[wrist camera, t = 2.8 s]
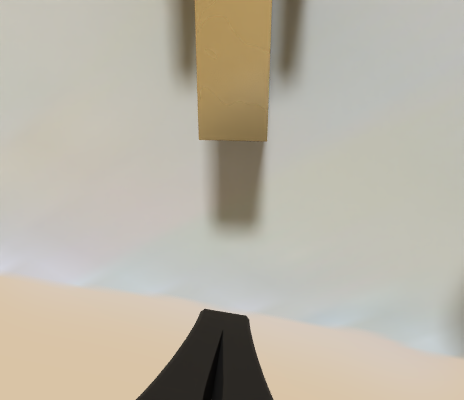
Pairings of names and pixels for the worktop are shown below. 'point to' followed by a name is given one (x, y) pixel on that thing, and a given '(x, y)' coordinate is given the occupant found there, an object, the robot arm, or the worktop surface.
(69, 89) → the worktop surface
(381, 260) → the worktop surface
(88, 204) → the worktop surface
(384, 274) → the worktop surface
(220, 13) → the loose leaf
